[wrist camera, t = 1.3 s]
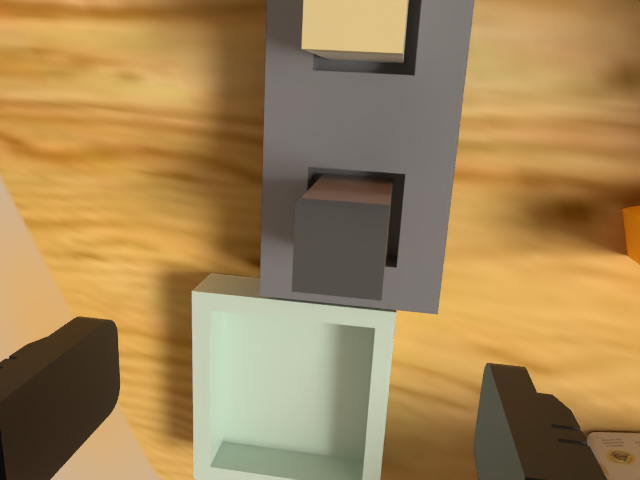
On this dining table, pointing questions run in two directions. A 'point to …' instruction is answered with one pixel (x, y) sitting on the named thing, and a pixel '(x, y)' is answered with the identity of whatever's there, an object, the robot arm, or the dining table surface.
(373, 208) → the block
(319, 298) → the block
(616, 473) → the coffee box
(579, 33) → the dining table surface
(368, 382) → the parts tray
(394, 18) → the block
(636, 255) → the pipe clamp
